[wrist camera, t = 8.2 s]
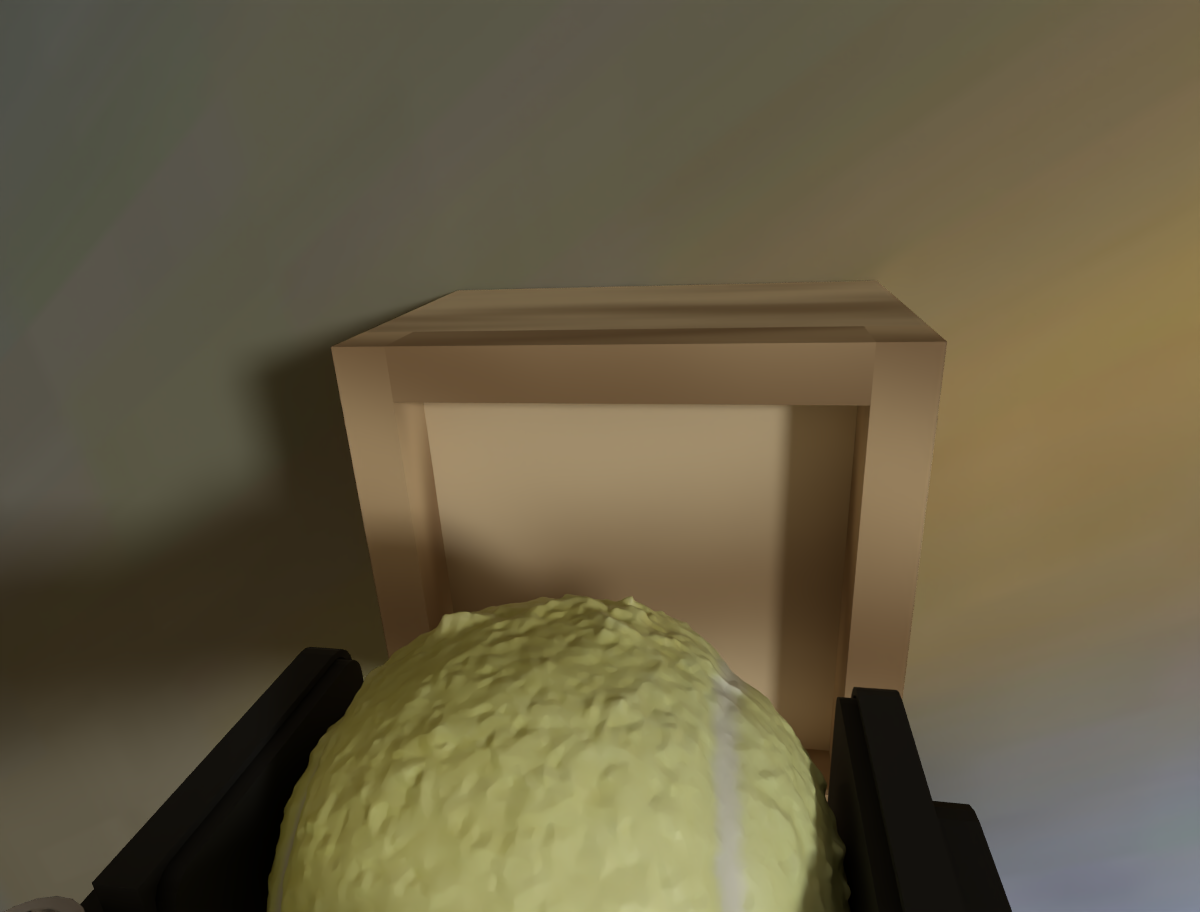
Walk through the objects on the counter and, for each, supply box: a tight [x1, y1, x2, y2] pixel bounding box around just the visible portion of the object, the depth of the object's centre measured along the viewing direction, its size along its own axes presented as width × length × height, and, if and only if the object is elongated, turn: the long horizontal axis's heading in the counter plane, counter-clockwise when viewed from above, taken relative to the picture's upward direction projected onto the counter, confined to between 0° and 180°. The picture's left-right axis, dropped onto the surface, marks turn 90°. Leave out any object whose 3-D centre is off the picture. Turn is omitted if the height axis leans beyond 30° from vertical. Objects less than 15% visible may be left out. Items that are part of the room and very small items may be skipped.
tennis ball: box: [267, 594, 851, 912], centre depth 9 cm, size 6×7×7 cm
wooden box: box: [331, 281, 947, 802], centre depth 16 cm, size 10×10×6 cm
